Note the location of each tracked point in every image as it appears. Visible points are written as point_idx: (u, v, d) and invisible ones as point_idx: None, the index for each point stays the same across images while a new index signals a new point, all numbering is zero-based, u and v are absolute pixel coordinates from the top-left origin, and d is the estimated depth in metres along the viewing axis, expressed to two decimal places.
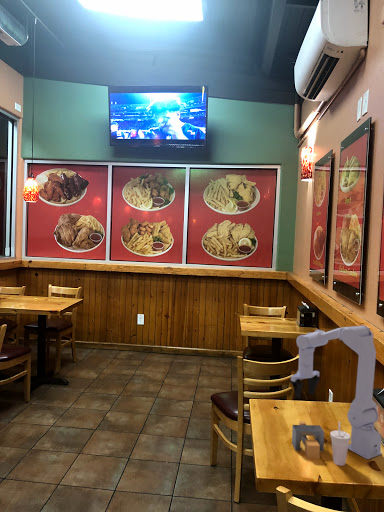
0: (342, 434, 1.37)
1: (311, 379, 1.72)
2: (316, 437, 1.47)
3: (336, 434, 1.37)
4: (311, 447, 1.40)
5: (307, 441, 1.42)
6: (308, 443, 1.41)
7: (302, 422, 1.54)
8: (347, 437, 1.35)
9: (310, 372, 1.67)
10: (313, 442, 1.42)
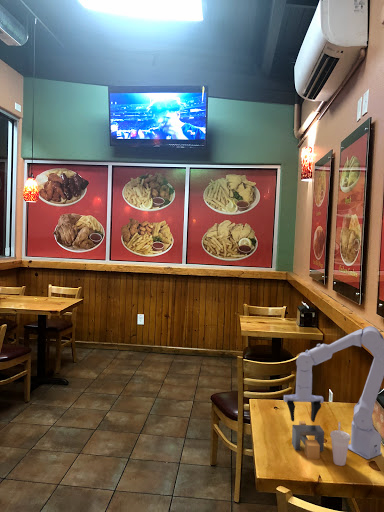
0: (342, 434, 1.37)
1: (312, 404, 1.54)
2: (316, 437, 1.47)
3: (336, 434, 1.37)
4: (311, 447, 1.40)
5: (307, 441, 1.42)
6: (308, 443, 1.41)
7: (302, 422, 1.54)
8: (347, 437, 1.35)
9: (305, 395, 1.51)
10: (313, 442, 1.42)
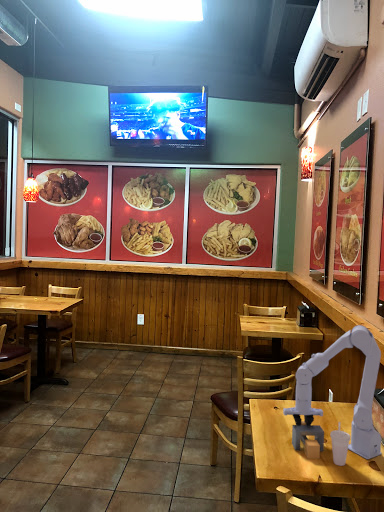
0: (342, 434, 1.37)
1: (305, 417, 1.54)
2: (316, 437, 1.47)
3: (336, 434, 1.37)
4: (311, 447, 1.40)
5: (307, 441, 1.42)
6: (308, 443, 1.41)
7: (302, 422, 1.54)
8: (347, 437, 1.35)
9: (305, 409, 1.51)
10: (313, 442, 1.42)
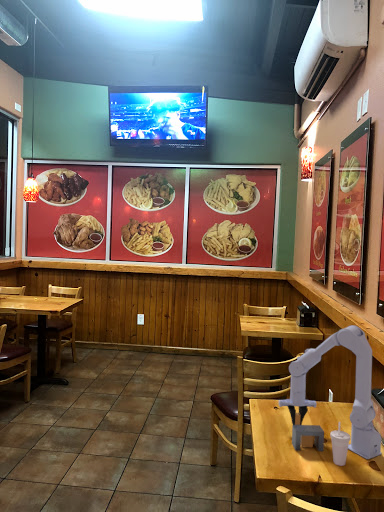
0: (342, 434, 1.37)
1: (300, 408, 1.62)
2: (316, 437, 1.47)
3: (336, 434, 1.37)
4: (305, 436, 1.47)
5: None
6: None
7: (297, 413, 1.61)
8: (347, 437, 1.35)
9: (299, 400, 1.59)
10: None
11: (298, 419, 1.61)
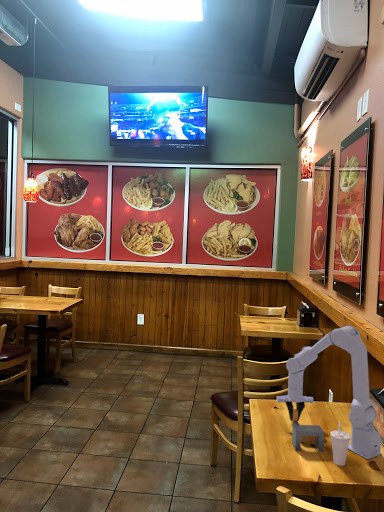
0: (342, 434, 1.37)
1: (297, 404, 1.66)
2: (316, 437, 1.47)
3: (336, 434, 1.37)
4: None
5: None
6: None
7: (294, 409, 1.65)
8: (347, 437, 1.35)
9: (296, 396, 1.63)
10: None
11: (296, 415, 1.64)
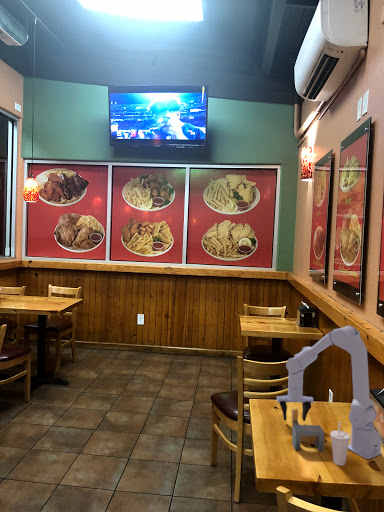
0: (342, 434, 1.37)
1: (303, 404, 1.66)
2: (316, 437, 1.47)
3: (336, 434, 1.37)
4: None
5: None
6: None
7: (294, 409, 1.65)
8: (347, 437, 1.35)
9: (296, 396, 1.63)
10: None
11: (296, 415, 1.64)
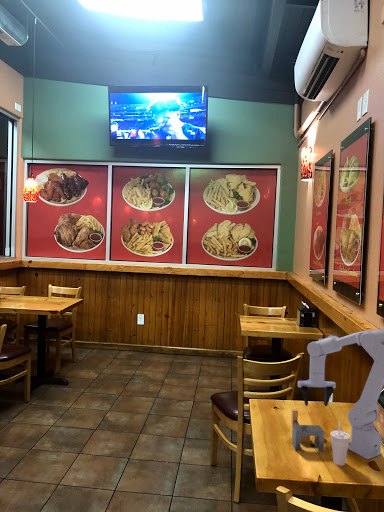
0: (342, 434, 1.37)
1: (325, 389, 1.62)
2: (316, 437, 1.47)
3: (336, 434, 1.37)
4: None
5: None
6: None
7: (294, 409, 1.65)
8: (347, 437, 1.35)
9: (318, 381, 1.59)
10: None
11: (296, 415, 1.64)
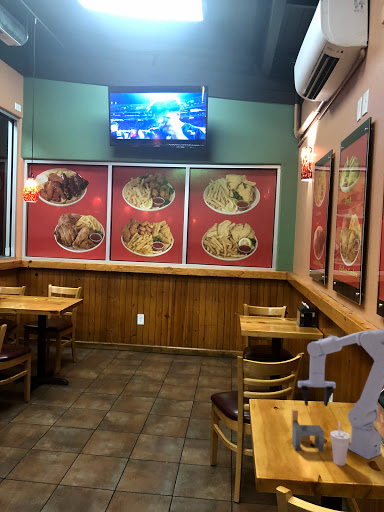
0: (342, 434, 1.37)
1: (325, 389, 1.62)
2: (316, 437, 1.47)
3: (336, 434, 1.37)
4: None
5: None
6: None
7: (294, 409, 1.65)
8: (347, 437, 1.35)
9: (318, 381, 1.59)
10: None
11: (296, 415, 1.64)
